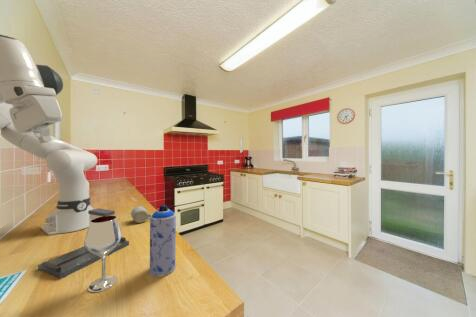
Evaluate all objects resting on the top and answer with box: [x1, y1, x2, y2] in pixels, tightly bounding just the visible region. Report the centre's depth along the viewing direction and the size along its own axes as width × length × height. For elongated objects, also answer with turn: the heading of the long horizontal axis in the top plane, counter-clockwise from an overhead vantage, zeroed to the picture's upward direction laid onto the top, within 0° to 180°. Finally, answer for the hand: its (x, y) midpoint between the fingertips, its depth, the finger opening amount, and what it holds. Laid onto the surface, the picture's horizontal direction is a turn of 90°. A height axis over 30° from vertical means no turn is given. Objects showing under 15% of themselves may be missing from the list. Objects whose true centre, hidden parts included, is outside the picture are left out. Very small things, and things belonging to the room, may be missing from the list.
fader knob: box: [88, 207, 116, 224], centre depth 65 cm, size 9×3×13 cm, turn 70°
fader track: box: [37, 236, 130, 280], centre depth 61 cm, size 12×21×2 cm, turn 160°
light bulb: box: [130, 205, 153, 224], centre depth 96 cm, size 11×8×8 cm
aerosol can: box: [148, 204, 177, 278], centre depth 54 cm, size 8×8×20 cm
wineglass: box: [83, 215, 123, 293], centre depth 48 cm, size 8×8×18 cm
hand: (46, 141), depth 53 cm, fingers closed
